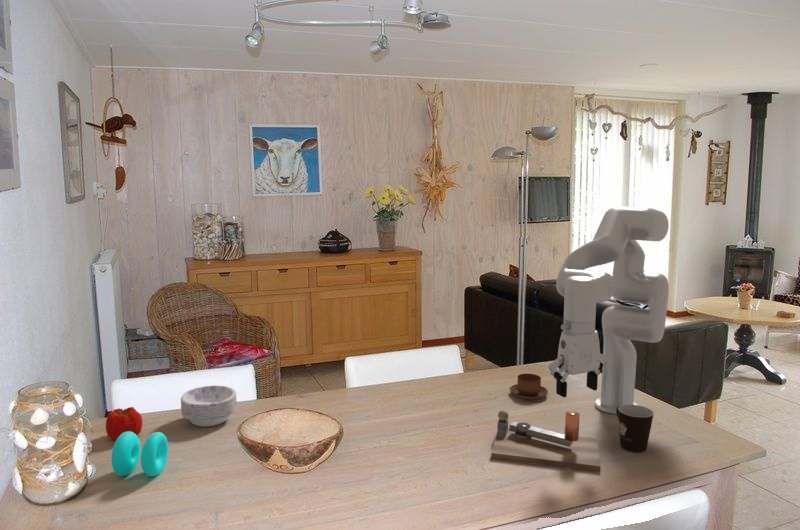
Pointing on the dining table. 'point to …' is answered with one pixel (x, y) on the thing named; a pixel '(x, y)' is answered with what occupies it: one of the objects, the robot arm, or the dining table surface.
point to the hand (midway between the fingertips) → (576, 392)
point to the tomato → (123, 422)
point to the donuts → (129, 453)
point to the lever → (551, 436)
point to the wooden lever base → (544, 449)
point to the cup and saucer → (529, 387)
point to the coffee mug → (634, 427)
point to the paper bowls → (208, 405)
